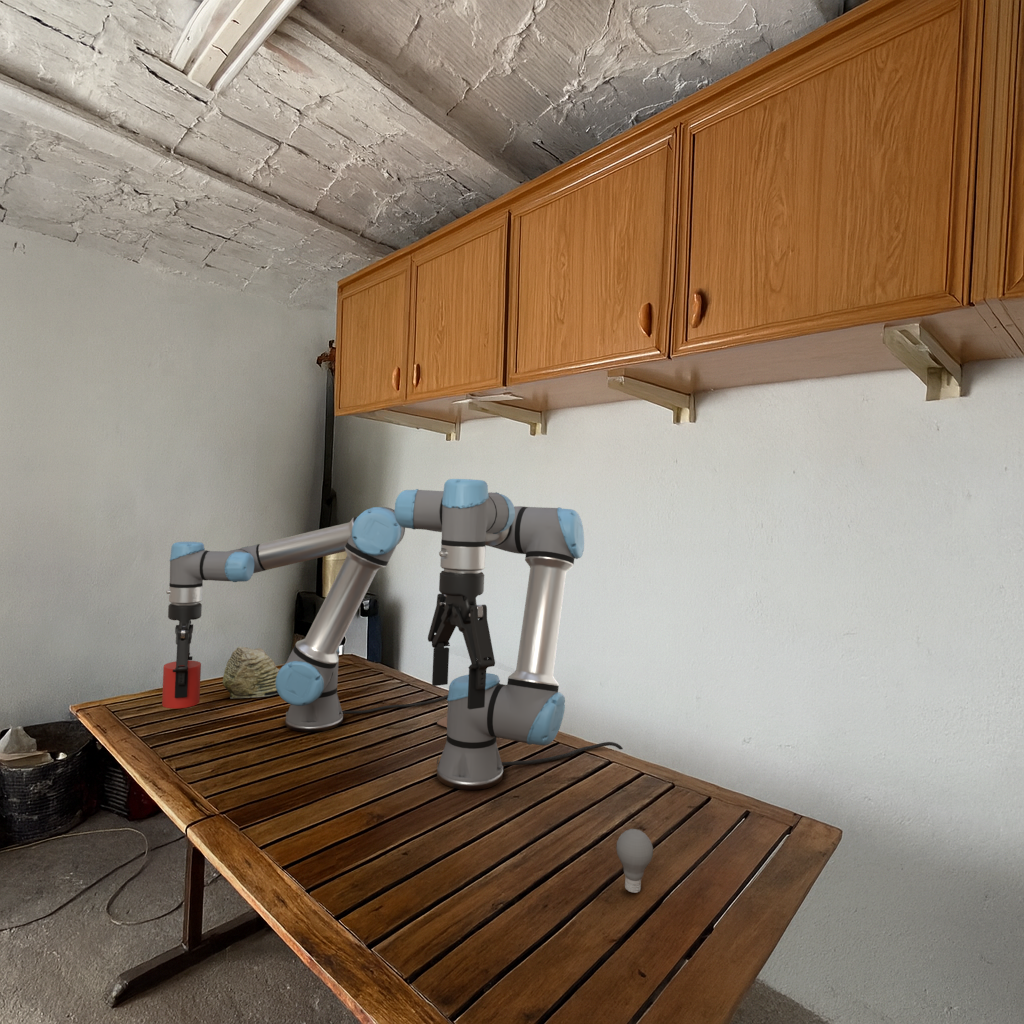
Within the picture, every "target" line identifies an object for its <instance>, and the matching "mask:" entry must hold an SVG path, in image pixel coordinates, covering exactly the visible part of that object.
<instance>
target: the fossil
mask: <svg viewBox="0 0 1024 1024" xmlns="http://www.w3.org/2000/svg"><path fill="white" fill-rule="evenodd" d="M279 670H280V668H278V667H277V665H276V663H275V662H274V660H273V659H272V658H271V657H270V656H269V655H268V654H267V653H266V652H265V650H264V649H263V648H260V647H258V648H251V647H247V646H246V647H245V646H238V647H237V648H236V649H235V650H233V651H232V653H231V656H230V657H229V659H228V660H227V663H226V666H225V668H224V671H223V675H222V676H223V677H222V685H223V687H224V688H225V690H226V691H228V693H229V698H230V699H250V698H264V697H271V696H275V695H279V694H278V692H277V689H276V677H277V674H278V672H279Z"/></svg>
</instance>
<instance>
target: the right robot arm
mask: <svg viewBox="0 0 1024 1024" xmlns="http://www.w3.org/2000/svg"><path fill="white" fill-rule="evenodd" d="M393 510H394V512H395V518H396V521H397V522H398V524H399V525H400V526H401V527H404V528H405V529H411V530H422V531H423V530H426V531H431V532H436V533H437V532H438V533H441V541H440V543H441V544H440V550H439V552H438V555H439V557H440V568H441V569H443V570H441V571H440V572H439V583H438V591H439V593H438V594H437V597H436V605H435V610H434V613H433V617H432V621H431V624H430V628H429V631H428V635H427V641H428V642H429V643H431V646H432V648H433V652H432V653H433V654H432V655H433V656H432V676H431V680H432V681H431V685H432V686H433V687H436V686H437V687H438V686H445V685H446V686H447V685H448V684H449V686H448V694H447V695H448V698H446V700H447V710H446V711H447V713H446V714H447V715H446V716H447V727H446V742H445V745H444V747H443V750H442V753H441V756H440V755H438V756H437V760H436V766H437V768H436V778H437V780H438V781H439V782H440V783H441V784H442V785H445V786H447V787H449V788H452V789H456V790H463V791H478V790H479V791H480V790H486V789H489V788H492V787H494V786H496V785H498V784H499V783H501V782H502V780H503V778H504V767H507V766H508V767H509V766H522V765H523V766H527V765H535V764H542V763H547V762H552V761H557V760H561V759H565V758H568V757H572V756H574V755H576V754H580V753H582V752H585V751H591V750H595V749H599V748H603V747H609V746H611V747H615V748H616V749H618V750H624V749H623V747H622V746H621V744H619V743H618V742H613V741H605V742H601V743H597V744H593V745H592V744H591V745H588V746H583V747H580V748H577V749H574V750H572V751H569V752H566V753H562V754H558V755H554V756H548V757H543V758H536V759H530V760H529V759H528V760H514V761H513V760H511V761H502V759H501V756H500V752H499V748H498V743H497V741H498V740H497V739H498V738H499V739H504V740H508V741H513V742H519V743H524V744H527V745H529V746H530V745H535V746H542V747H545V746H548V745H550V744H551V743H552V742H554V740H555V739H556V738H557V736H558V733H559V731H560V728H561V725H562V723H563V719H564V716H565V715H564V714H565V709H566V704H565V703H566V698H565V695H564V694H563V693H562V692H560V691H559V687H560V684H559V682H558V681H557V679H556V677H555V676H554V672H555V663H556V656H557V648H558V641H559V632H560V623H561V616H562V610H563V609H562V607H563V603H564V602H563V601H564V593H565V585H566V577H567V573H568V572H569V571H570V570H571V569H573V568H574V565H575V560H578V559H581V558H582V557H583V554H584V550H585V532H584V526H583V521H582V518H581V516H580V514H579V512H577V511H576V510H575V509H570V508H562V507H541V506H540V507H539V506H524V505H523V506H521V505H519V506H514V504H513V502H512V500H511V499H510V498H509V497H508V496H507V495H505V494H502V493H500V492H497V491H496V492H493V491H492V492H489V485H488V483H487V481H485V480H482V479H471V478H470V479H468V478H449V479H447V480H446V481H445V482H444V485H443V490H430V489H429V490H428V489H419V488H416V489H405V490H402V491H401V492H400V493H399V494H398V495H397V496H396V499H395V502H394V509H393ZM487 547H491V548H494V549H498V550H501V551H505V552H508V553H511V554H519V555H525V557H524V561H525V563H526V564H527V565H528V567H529V574H528V581H527V588H526V589H527V590H526V596H525V602H524V603H525V604H524V611H523V617H522V625H521V631H520V639H519V646H518V652H517V653H518V654H517V659H516V668H515V671H513V673H510V675H509V676H508V677H507V684H503V683H501V679H500V677H499V675H497V674H495V673H489V672H487V669H488V668H492V667H495V665H496V660H495V654H494V648H493V643H492V638H491V634H490V633H491V631H490V628H489V623H488V607H487V605H486V604H477V597H478V596H482V595H483V594H484V590H485V574H484V573H483V572H482V571H483V570H485V568H486V548H487ZM456 628H457V629H458V631H459V632H461V633H462V636H463V640H464V643H465V646H466V650H467V653H468V656H469V660H470V663H471V664H470V665H469V666H468V667H467V668H468V674H463V675H461V676H458V677H456V678H454V679H453V680H452V681H451V682H450V683H449V682H448V681H449V662H450V660H449V659H450V647H451V645H450V640H451V637H452V636H453V634H454V631H455V629H456ZM439 756H440V758H439Z"/></svg>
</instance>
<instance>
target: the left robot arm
mask: <svg viewBox="0 0 1024 1024" xmlns="http://www.w3.org/2000/svg"><path fill="white" fill-rule="evenodd" d="M405 532H406V528H404V527H401V526H400V525H399V524H398V522H397V521H396V518H395V512H394V509H392V508H390V507H385V506H375V507H370V508H367V509H366V510H363V512H361V513H360V514H359V515H358V516H353V517H352V518H351V520H350V521H349V522H345V523H341V524H337V525H332V526H329V527H324V528H320V529H316V530H311V531H307V532H303V533H300V534H299V533H298V534H295V535H291V536H287V537H281V538H278V539H274V540H269V541H265V542H262V543H258V544H252V545H247V546H244V547H239V548H236V549H231V550H227V551H223V550H221V551H220V550H219V551H218V550H205V544H204V543H203V542H200V541H176V542H174V543H172V545H171V549H170V557H169V585H168V586H169V589H167V590H166V594H167V595H168V602H169V604H168V609H167V618H168V619H169V620H171V621H178V624H176V625H175V626H174V627H175V628H174V633H175V644H176V659H175V660H176V668H175V669H173V672H176V676H175V698H182V697H187V686H188V661H193V656H192V655H191V652H190V651H191V649H190V648H191V644H192V638H193V633H194V624H192V621H195V620H198V619H200V618H202V610H203V609H202V608H203V607H202V606H203V603H201V602H202V601H203V593H204V592H203V588H204V586H203V581H213V582H214V581H215V582H217V581H218V582H232V583H238V582H248V581H250V580H251V579H252V576H253V575H254V574H258V573H260V572H261V573H262V572H266V571H268V570H272V569H277V568H281V567H285V566H289V565H295V564H298V563H302V562H303V563H304V562H306V561H310V560H311V561H312V560H315V559H319V558H324V557H327V556H331V555H336V554H341V553H344V552H345V553H346V557H345V559H344V561H343V562H342V564H341V566H340V569H339V571H338V573H337V574H336V576H335V579H334V581H333V583H332V585H331V587H330V588H329V590H328V593H327V595H326V596H325V598H324V600H323V602H322V604H321V605H320V608H319V610H318V612H317V614H316V616H315V618H314V620H313V622H312V624H311V626H310V628H309V630H308V632H307V634H306V636H305V637H304V638H303V639H300V640H297V641H296V643H295V644H294V646H293V648H292V650H291V652H290V654H289V657H288V658H287V660H286V662H285V664H283V665H282V666H281V667H280V668H279V672H278V674H277V677H276V689H277V692H278V694H277V695H279V697H280V698H281V699H282V700H283V701H284V702H285V703H286V704H289V708H288V711H286V712H285V726H286V728H287V729H289V730H291V731H294V732H295V731H296V732H301V733H316V732H325V731H329V730H332V729H335V728H337V727H339V726H340V725H342V723H343V722H344V715H352V714H353V715H355V714H367V713H368V714H369V713H372V712H377V711H381V710H385V709H386V710H387V709H394V708H395V709H396V708H397V709H398V708H411V707H416V706H417V707H418V706H423V705H428V704H433V703H436V702H439V701H442V700H445V699H447V698H448V694H446V695H444V696H443V695H442V696H440V697H438V698H434V699H430V700H426V701H420V702H414V703H413V702H412V703H405V704H390V705H383V706H380V707H374V708H369V709H363V710H343V709H342V706H341V702H340V699H339V695H338V682H339V681H338V680H339V678H338V677H339V660H340V659H339V657H340V656H339V655H340V646H341V644H342V641H343V640H344V637H345V636H346V633H347V632H348V629H349V628H350V625H351V624H352V621H353V620H354V617H355V616H356V614H357V612H358V610H359V608H360V606H361V604H362V602H363V600H364V598H365V596H366V594H367V592H368V590H369V588H370V586H371V584H372V582H373V580H374V578H375V577H376V574H377V572H378V571H379V570H381V569H383V568H386V567H387V566H388V564H389V562H390V559H391V558H392V556H393V555H394V552H395V550H396V548H397V546H398V545H399V544H400V543H401V542H402V540H403V538H404V536H405ZM190 655H191V656H190ZM182 665H184V666H182Z"/></svg>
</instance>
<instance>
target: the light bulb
mask: <svg viewBox="0 0 1024 1024" xmlns="http://www.w3.org/2000/svg"><path fill="white" fill-rule="evenodd" d="M615 849H616V854H617V857H618V859H619V861H620V863H621V865H622V867H623V873H624V874H623V875H624V876H625V878H624V888H625V890H627V891H628V892H630V893H634V894H635V893H639V892H640V891H641V889H642V887H641V886H642V879H643V877H644V875H645V871H646V868H647V867H648V866H649V864H650V863H651V861H652V859H653V855H654V847H653V843H652V841H651V838H649V836H648V835H647V834H646V833H645V832H643V831H642V830H641V829H636V828H629V829H627V830H625V831H623V832H622V833H621V834H620V835H619V837H618V839H617V841H616V847H615Z"/></svg>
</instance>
